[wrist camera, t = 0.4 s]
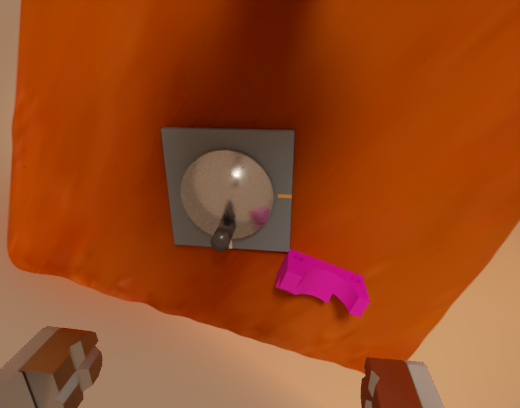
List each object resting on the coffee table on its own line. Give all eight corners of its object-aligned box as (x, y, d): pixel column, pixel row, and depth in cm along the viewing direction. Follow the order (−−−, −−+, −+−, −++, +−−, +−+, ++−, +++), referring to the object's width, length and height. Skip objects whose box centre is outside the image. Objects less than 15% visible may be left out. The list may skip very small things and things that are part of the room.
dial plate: (164, 126, 55) (160, 128, 53) (294, 129, 52) (294, 131, 51) (177, 240, 63) (173, 245, 62) (289, 247, 61) (289, 252, 59)
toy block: (277, 273, 63) (274, 298, 57) (288, 247, 61) (287, 270, 54) (347, 299, 64) (353, 327, 57) (362, 275, 61) (369, 301, 55)
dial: (179, 147, 54) (161, 158, 47) (274, 150, 52) (270, 162, 45) (187, 232, 60) (172, 253, 53) (273, 237, 58) (269, 260, 51)
